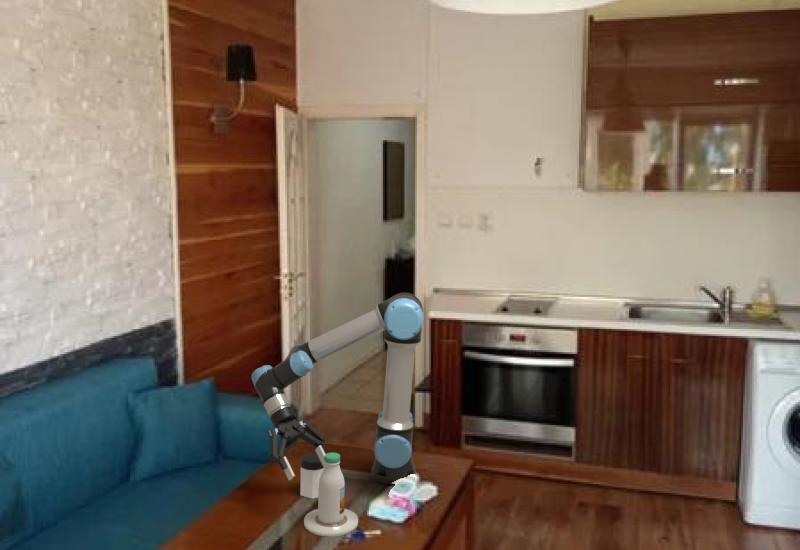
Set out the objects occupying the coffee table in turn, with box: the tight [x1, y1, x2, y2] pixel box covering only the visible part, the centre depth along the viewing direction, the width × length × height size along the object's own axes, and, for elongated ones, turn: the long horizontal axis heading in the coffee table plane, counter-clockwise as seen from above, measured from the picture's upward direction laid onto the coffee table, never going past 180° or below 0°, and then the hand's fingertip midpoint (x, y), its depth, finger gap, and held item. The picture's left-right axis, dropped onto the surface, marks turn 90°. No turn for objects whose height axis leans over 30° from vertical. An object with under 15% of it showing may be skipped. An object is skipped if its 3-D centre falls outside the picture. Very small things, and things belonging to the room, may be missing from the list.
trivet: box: [303, 508, 359, 538], centre depth 227 cm, size 16×16×1 cm
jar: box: [299, 452, 324, 500], centre depth 246 cm, size 9×8×12 cm
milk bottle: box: [317, 452, 346, 524], centre depth 225 cm, size 8×8×20 cm
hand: (309, 472), depth 232 cm, fingers open, 13 cm apart
